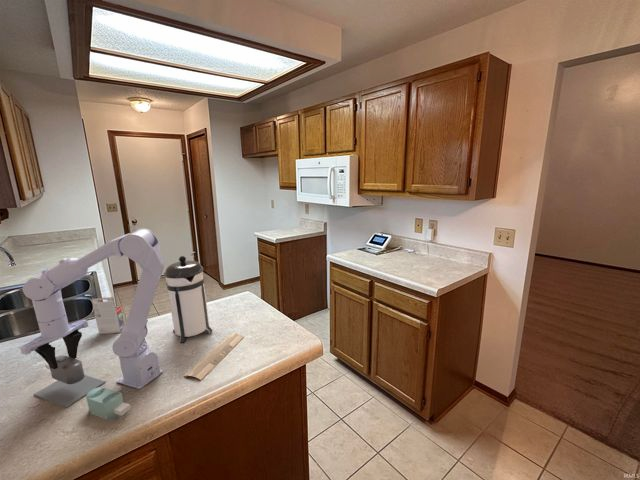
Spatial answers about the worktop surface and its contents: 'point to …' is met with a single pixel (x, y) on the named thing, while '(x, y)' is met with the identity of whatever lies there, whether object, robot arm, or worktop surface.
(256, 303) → the worktop surface
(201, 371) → the wooden plank
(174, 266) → the coffee press
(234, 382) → the worktop surface
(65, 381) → the plug
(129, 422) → the worktop surface
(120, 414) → the teal plug
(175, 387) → the worktop surface
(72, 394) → the mat
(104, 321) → the ink box
